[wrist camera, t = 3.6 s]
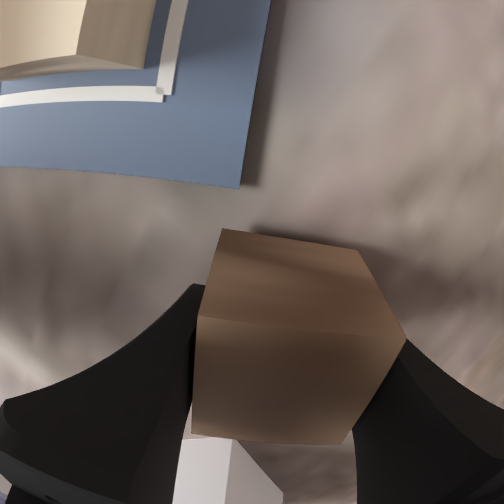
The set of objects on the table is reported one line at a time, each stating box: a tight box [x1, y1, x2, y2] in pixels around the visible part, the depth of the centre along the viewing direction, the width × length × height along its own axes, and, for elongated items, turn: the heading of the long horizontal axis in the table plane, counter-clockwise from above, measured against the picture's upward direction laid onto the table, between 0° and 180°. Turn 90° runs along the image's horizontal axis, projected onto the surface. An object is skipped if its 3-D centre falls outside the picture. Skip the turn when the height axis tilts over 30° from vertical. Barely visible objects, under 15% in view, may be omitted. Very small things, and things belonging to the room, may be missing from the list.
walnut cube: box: [191, 228, 407, 445], centre depth 9 cm, size 4×4×4 cm
